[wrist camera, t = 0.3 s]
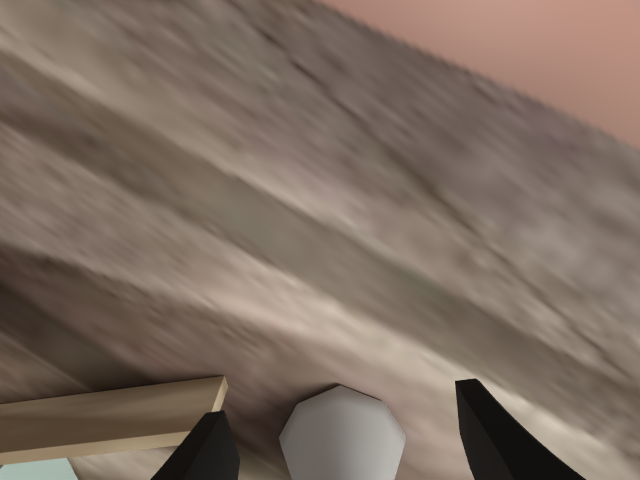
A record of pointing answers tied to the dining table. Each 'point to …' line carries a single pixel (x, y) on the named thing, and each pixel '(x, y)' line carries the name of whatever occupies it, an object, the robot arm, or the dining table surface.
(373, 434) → the flask
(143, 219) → the dining table surface
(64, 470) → the spring plate
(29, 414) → the lane
